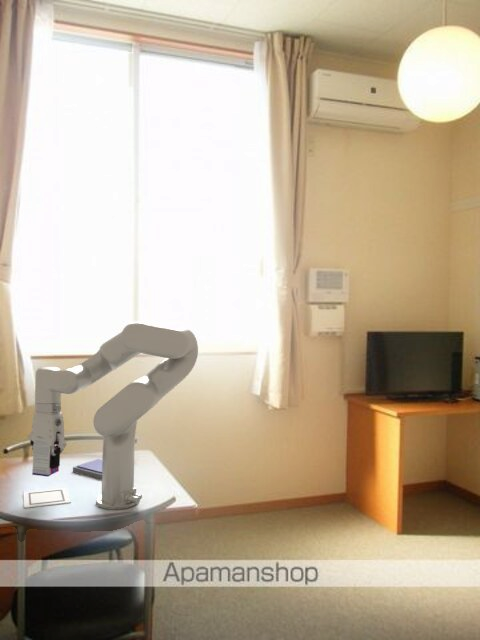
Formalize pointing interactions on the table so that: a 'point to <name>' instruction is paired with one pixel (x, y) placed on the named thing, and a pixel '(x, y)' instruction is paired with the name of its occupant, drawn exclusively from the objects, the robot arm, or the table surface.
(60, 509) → the table surface
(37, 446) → the supplement box
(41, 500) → the marked card
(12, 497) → the table surface
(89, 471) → the ink pad
